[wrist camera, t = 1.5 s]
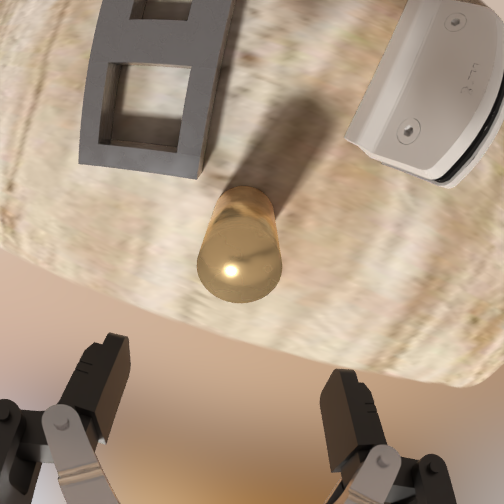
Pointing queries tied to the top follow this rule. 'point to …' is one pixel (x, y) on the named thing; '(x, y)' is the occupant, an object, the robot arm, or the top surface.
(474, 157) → the grey curved housing
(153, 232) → the top surface
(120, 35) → the grey flat block
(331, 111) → the top surface
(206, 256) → the cylinder
